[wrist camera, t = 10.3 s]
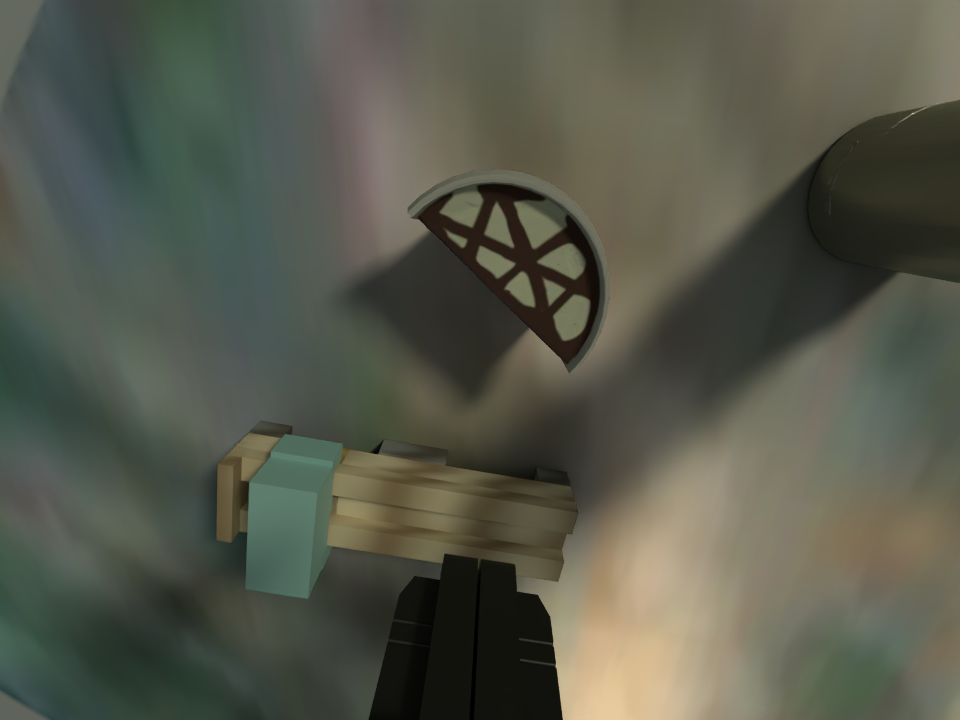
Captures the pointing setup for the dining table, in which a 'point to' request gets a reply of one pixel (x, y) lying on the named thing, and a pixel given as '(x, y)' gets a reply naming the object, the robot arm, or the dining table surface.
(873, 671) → the dining table surface
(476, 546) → the beam
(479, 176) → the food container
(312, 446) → the rider
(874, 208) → the robot arm
